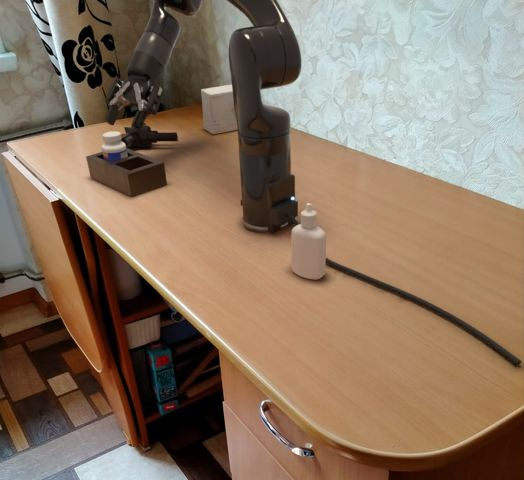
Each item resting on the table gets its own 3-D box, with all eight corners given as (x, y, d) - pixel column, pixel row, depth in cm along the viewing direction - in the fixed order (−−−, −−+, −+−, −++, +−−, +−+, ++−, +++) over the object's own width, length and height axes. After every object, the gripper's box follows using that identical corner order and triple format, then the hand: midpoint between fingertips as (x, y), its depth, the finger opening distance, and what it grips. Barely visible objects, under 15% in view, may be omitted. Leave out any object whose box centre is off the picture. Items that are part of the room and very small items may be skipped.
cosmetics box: (213, 135, 155) (209, 94, 148) (203, 129, 159) (199, 89, 153) (247, 128, 159) (245, 87, 152) (237, 122, 163) (234, 83, 157)
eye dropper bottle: (312, 263, 97) (313, 195, 90) (328, 278, 93) (330, 208, 86) (289, 268, 96) (288, 200, 88) (303, 284, 92) (304, 213, 84)
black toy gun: (185, 118, 154) (131, 118, 156) (168, 132, 138) (108, 133, 139) (187, 138, 157) (134, 139, 159) (170, 155, 141) (111, 155, 142)
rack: (167, 184, 128) (164, 162, 125) (131, 197, 123) (127, 174, 120) (125, 166, 138) (121, 145, 135) (90, 177, 133) (85, 156, 130)
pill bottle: (103, 180, 132) (93, 136, 126) (114, 172, 136) (106, 129, 130) (124, 181, 130) (115, 138, 124) (135, 173, 134) (127, 130, 128)
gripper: (117, 46, 129) (89, 112, 129) (162, 51, 122) (133, 121, 122) (138, 67, 136) (111, 130, 135) (182, 73, 129) (154, 140, 128)
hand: (121, 126), depth 129 cm, fingers open, 8 cm apart
